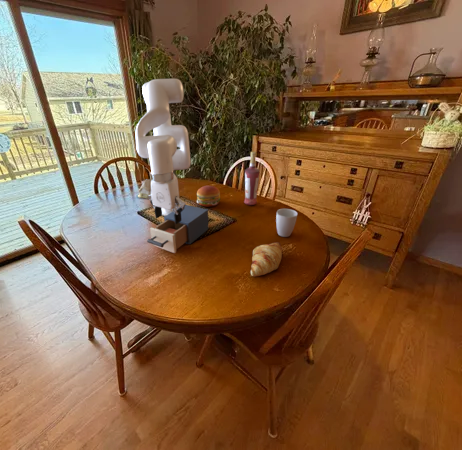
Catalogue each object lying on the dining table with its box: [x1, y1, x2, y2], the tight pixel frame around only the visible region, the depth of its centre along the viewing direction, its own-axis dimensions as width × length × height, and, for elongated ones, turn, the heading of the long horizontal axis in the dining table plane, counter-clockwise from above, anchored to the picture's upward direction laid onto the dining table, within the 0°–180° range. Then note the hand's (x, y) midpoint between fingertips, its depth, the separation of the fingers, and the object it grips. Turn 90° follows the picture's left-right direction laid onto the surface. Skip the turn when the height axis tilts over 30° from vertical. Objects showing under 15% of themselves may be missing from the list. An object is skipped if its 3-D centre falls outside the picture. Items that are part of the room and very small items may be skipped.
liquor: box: [243, 151, 260, 207], centre depth 123 cm, size 7×7×28 cm
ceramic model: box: [137, 178, 152, 199], centre depth 147 cm, size 14×11×10 cm
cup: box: [275, 208, 298, 238], centre depth 99 cm, size 8×8×10 cm
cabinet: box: [163, 204, 210, 245], centre depth 103 cm, size 15×13×10 cm
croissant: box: [250, 241, 283, 277], centre depth 83 cm, size 21×10×8 cm, turn 143°
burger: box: [196, 185, 221, 208], centre depth 131 cm, size 13×14×10 cm
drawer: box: [146, 219, 188, 254], centre depth 94 cm, size 18×11×8 cm, turn 147°
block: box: [165, 228, 176, 234], centre depth 95 cm, size 4×4×4 cm
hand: (168, 219), depth 91 cm, fingers open, 9 cm apart
